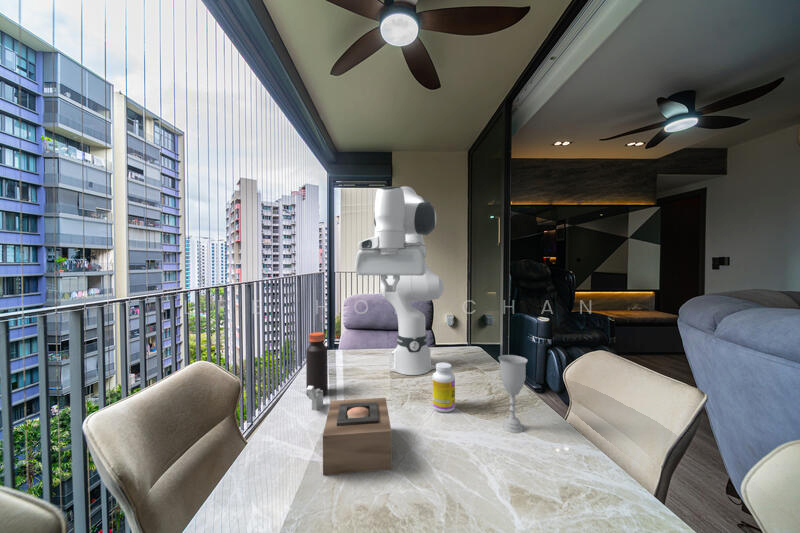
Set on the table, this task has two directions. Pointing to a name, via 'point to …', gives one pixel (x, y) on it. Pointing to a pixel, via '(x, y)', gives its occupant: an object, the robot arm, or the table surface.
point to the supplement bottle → (443, 388)
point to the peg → (358, 412)
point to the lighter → (315, 397)
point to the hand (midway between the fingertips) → (390, 291)
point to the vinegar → (317, 363)
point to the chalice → (512, 386)
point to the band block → (357, 438)
